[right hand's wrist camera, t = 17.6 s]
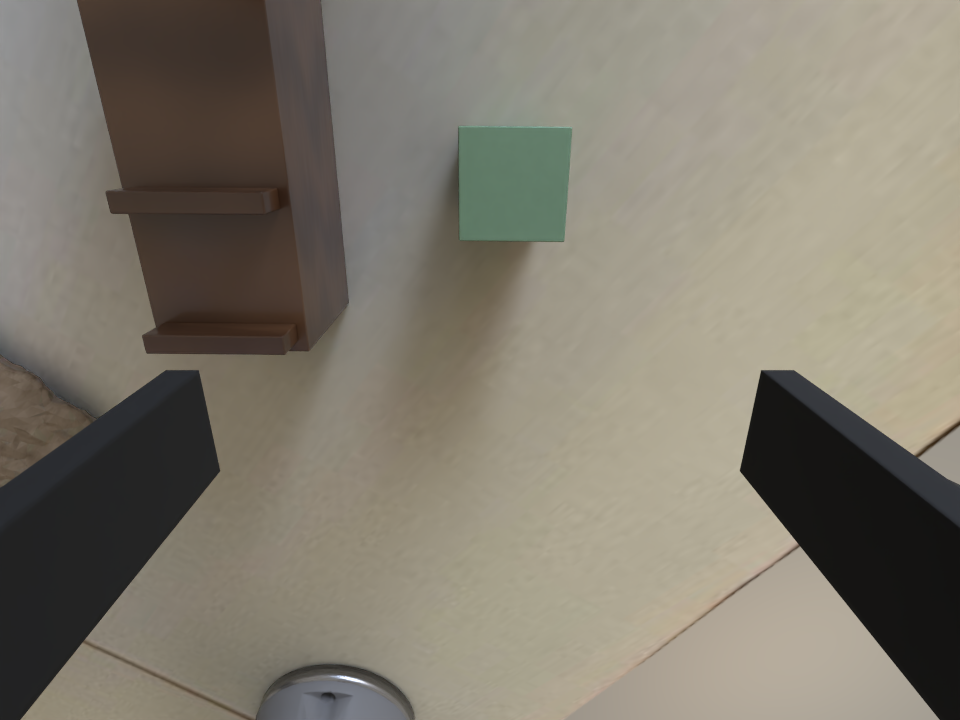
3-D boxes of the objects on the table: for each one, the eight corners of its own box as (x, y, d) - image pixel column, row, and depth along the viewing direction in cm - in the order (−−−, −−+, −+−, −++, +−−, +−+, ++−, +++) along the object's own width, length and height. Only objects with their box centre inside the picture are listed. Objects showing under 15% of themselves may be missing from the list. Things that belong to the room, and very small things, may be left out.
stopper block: (543, 214, 34) (564, 242, 25) (466, 213, 34) (458, 240, 25) (547, 130, 33) (572, 127, 23) (466, 129, 33) (458, 125, 23)
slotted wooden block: (349, 303, 37) (297, 366, 27) (234, 302, 37) (138, 364, 27) (302, -193, 27) (192, -394, 17) (145, -193, 27) (-61, -394, 17)
